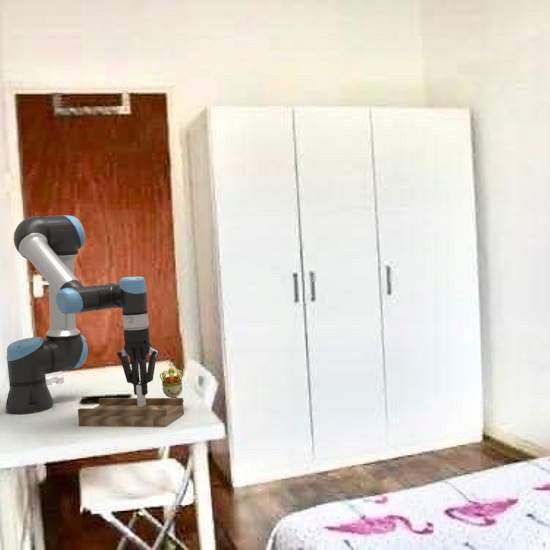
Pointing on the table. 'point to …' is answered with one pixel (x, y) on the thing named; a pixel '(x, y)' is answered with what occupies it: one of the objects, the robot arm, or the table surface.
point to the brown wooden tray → (132, 412)
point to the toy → (172, 383)
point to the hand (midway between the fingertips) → (141, 405)
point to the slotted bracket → (54, 378)
